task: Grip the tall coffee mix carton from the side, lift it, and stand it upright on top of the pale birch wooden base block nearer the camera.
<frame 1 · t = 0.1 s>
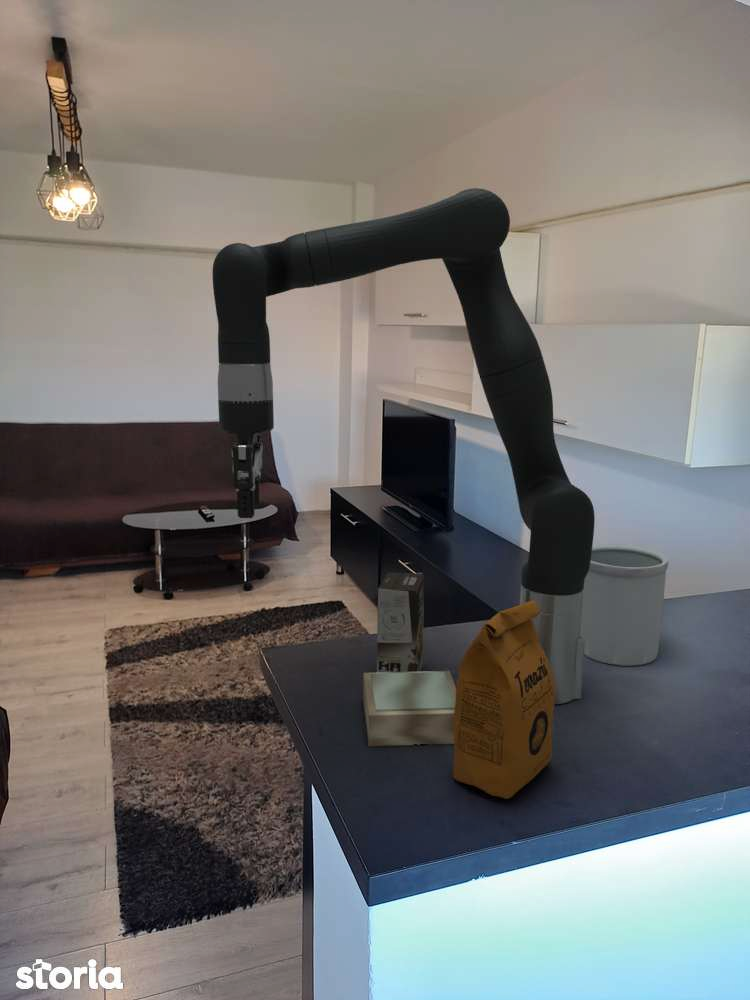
hand: (249, 510, 107), 29 cm above the kitchen counter, tool pointing down, fingers open, 8 cm apart
utensil holder: (614, 651, 133), on the kitchen counter
coffee box: (400, 676, 122), on the kitchen counter
coffee package: (503, 775, 95), on the kitchen counter
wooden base: (411, 720, 107), on the kitchen counter
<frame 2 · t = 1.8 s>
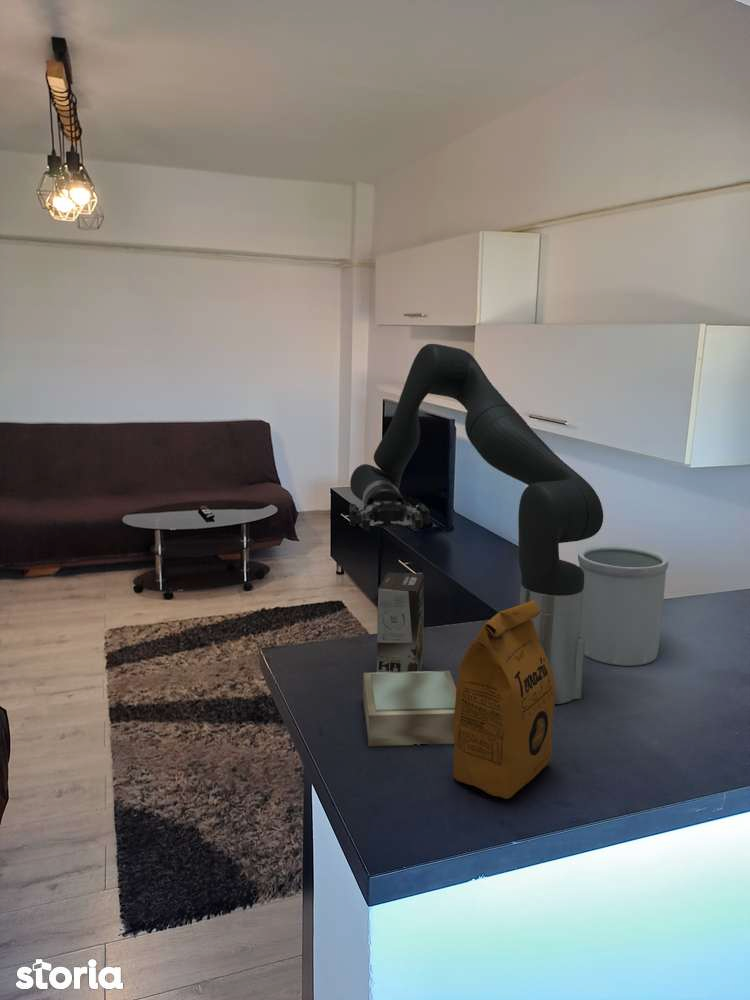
hand: (392, 525, 129), 22 cm above the kitchen counter, tool horizontal, fingers open, 8 cm apart
nothing on the kitchen counter moved.
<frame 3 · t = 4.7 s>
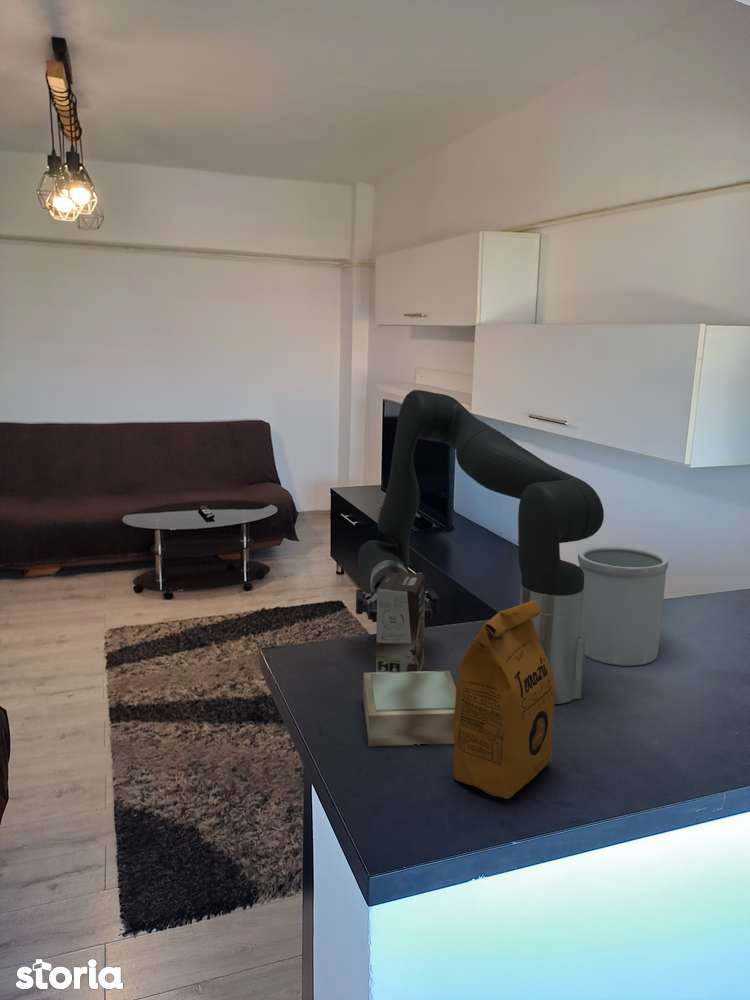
hand: (400, 616, 123), 9 cm above the kitchen counter, tool horizontal, fingers open, 8 cm apart
coffee box: (400, 676, 122), on the kitchen counter, touching gripper
everything else where it was.
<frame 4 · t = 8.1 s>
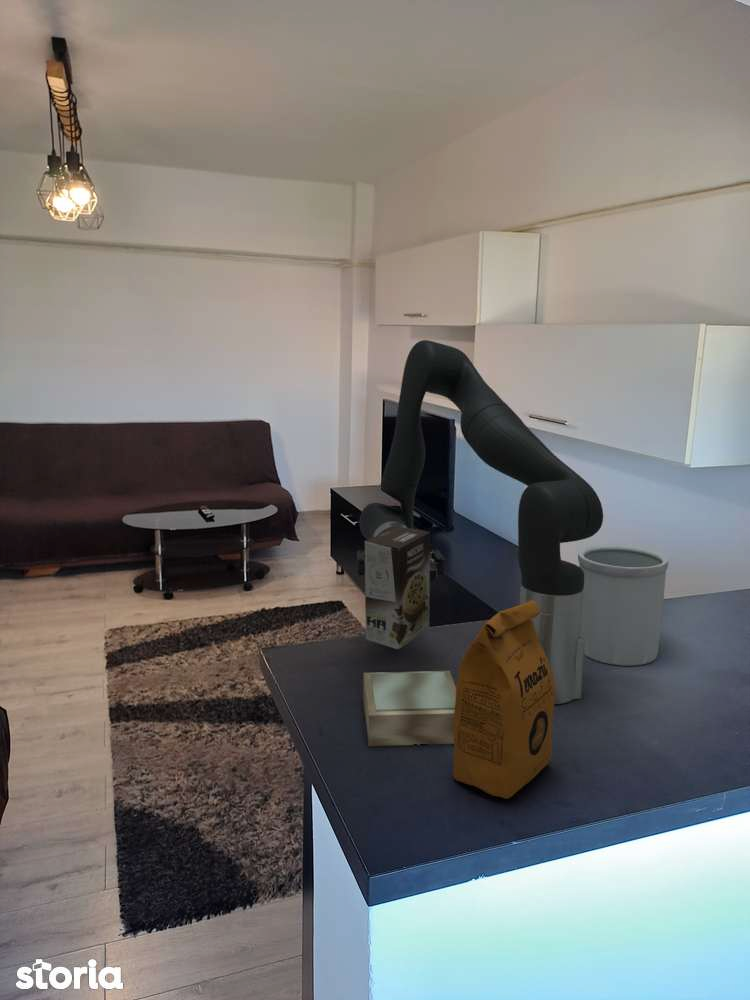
hand: (404, 576, 116), 18 cm above the kitchen counter, tool horizontal, fingers closed on coffee box, 8 cm apart
coffee box: (398, 634, 117), point 8 cm above the kitchen counter, touching gripper
everything else where it was.
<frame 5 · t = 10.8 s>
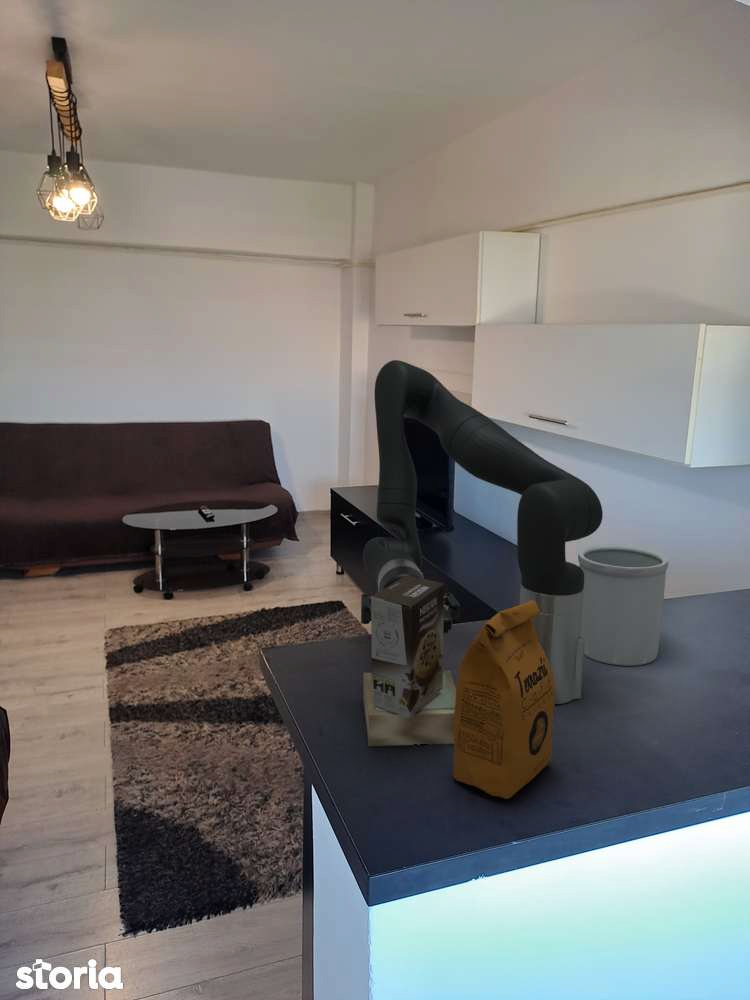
hand: (415, 627, 102), 15 cm above the kitchen counter, tool horizontal, fingers closed on coffee box, 8 cm apart
coffee box: (408, 698, 104), point 5 cm above the kitchen counter, touching gripper, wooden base
everything else where it was.
when the fingers open (15 cm above the kitchen counter, at t = 11.3 s): coffee box stays where it is, resting on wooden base.
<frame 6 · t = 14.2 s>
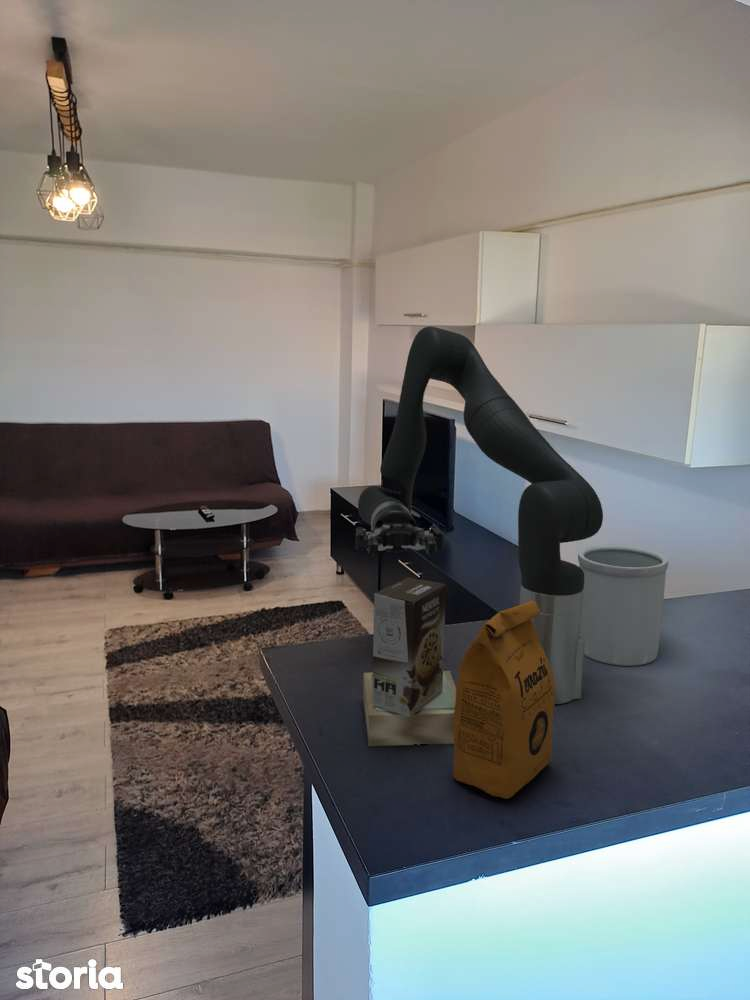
hand: (403, 549, 116), 22 cm above the kitchen counter, tool horizontal, fingers open, 8 cm apart
coffee box: (408, 700, 104), point 5 cm above the kitchen counter, touching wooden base
everything else where it was.
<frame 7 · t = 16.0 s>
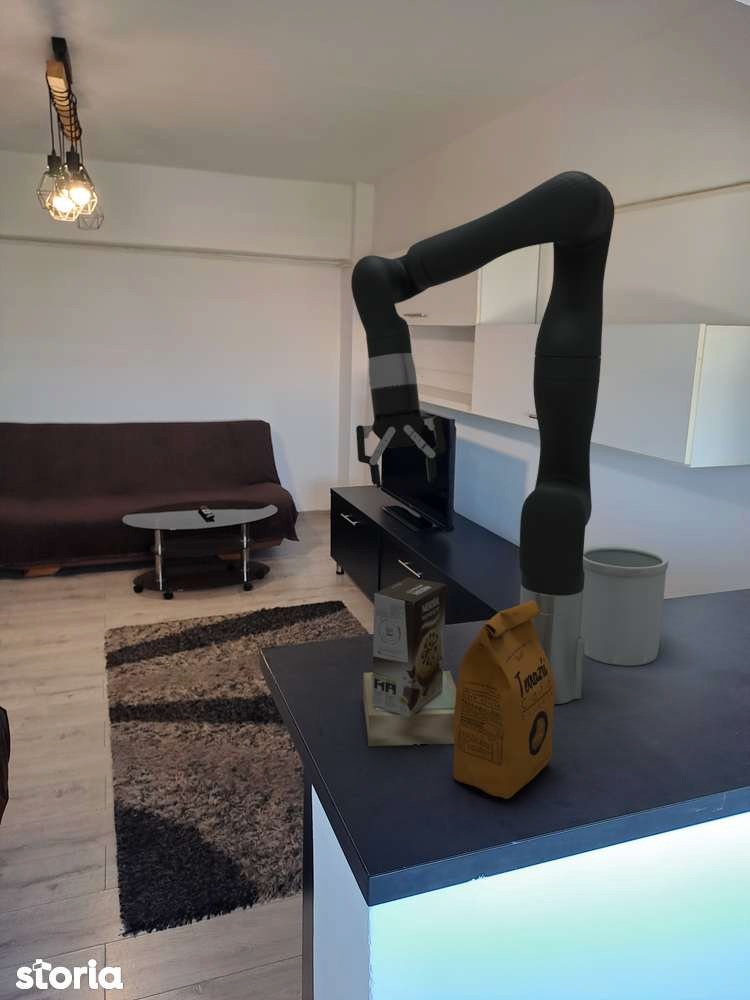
hand: (405, 484, 122), 30 cm above the kitchen counter, tool pointing down, fingers open, 8 cm apart
nothing on the kitchen counter moved.
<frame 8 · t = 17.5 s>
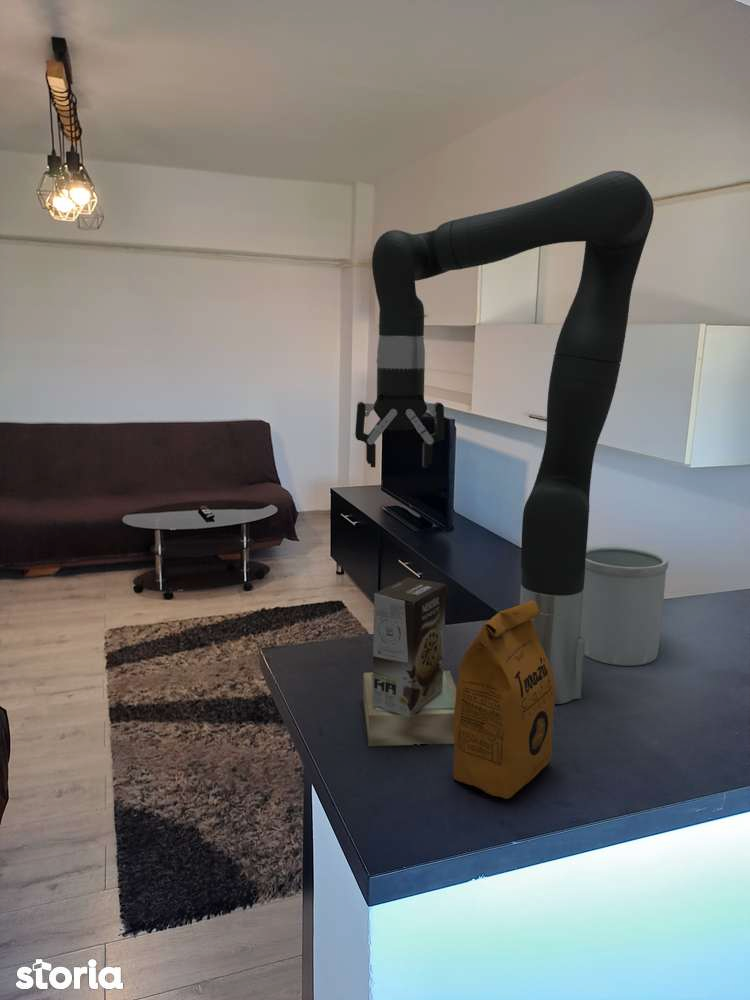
hand: (399, 466, 122), 33 cm above the kitchen counter, tool pointing down, fingers open, 8 cm apart
nothing on the kitchen counter moved.
at the end: coffee box inside the target area on the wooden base (2.8 cm from its centre), point 4.6 cm above the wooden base's base; coffee box tilted 0°; the gripper is holding nothing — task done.
